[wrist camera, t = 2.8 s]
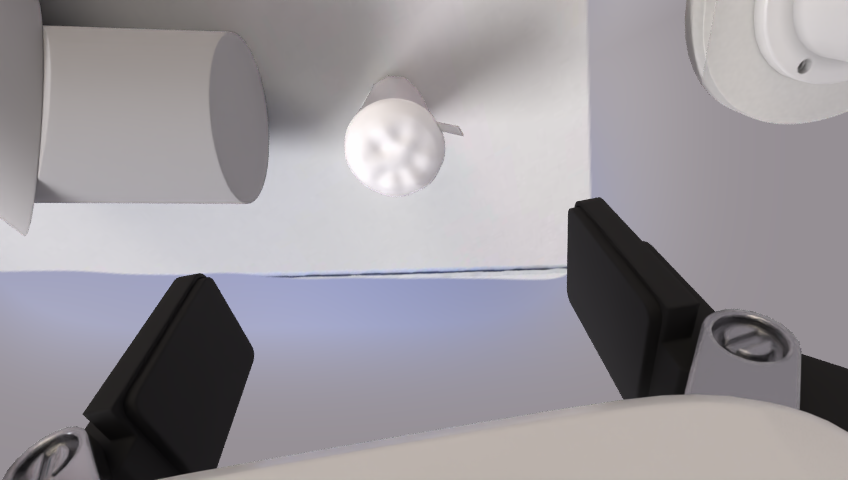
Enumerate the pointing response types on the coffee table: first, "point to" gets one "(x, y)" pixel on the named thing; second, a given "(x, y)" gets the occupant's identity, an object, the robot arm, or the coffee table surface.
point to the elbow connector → (125, 116)
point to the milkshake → (395, 139)
